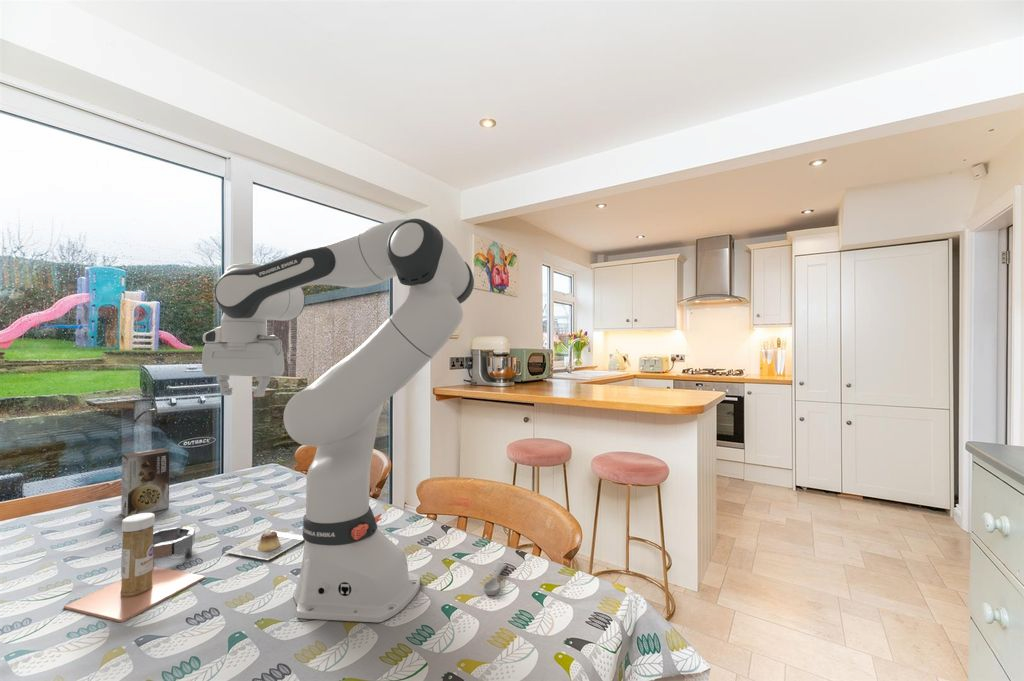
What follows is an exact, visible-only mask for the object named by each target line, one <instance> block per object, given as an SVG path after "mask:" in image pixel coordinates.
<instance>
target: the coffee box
mask: <svg viewBox="0 0 1024 681" xmlns="http://www.w3.org/2000/svg"><path fill="white" fill-rule="evenodd" d="M170 453H171V452H170V450H167V449H166V448H163V447H159V448H154V449H148V450H147V449H146V450H141V451H135V452H134V451H133V452H128V453H122V458H121V459H122V460H121V501H120V502H121V504H120V506H121V507H120V513H121V515H122V516H124V518H126V517H129V516H132V515H135V514H140V513H155V512H157V511H162V510H166V509H170Z"/></svg>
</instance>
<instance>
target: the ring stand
mask: <svg viewBox="0 0 1024 681" xmlns="http://www.w3.org/2000/svg"><path fill="white" fill-rule="evenodd" d="M195 540H196V528H195V527H190V526H182V525H181V526H174V527H169V528H163V529H158V530H155V531H153V566H155V559H160V558H161V559H162V558H166V557H171V556H172V555H173V556H175V555H177V554H179V553H182V552H183V551H184V559H187V558H191V557H192V556H193V545H194V544H195Z"/></svg>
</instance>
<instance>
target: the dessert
mask: <svg viewBox="0 0 1024 681" xmlns="http://www.w3.org/2000/svg"><path fill="white" fill-rule="evenodd" d="M279 537H281V538H286V539H287V538H288V539H291V540H292V539H293V540H299V541H298V542H296V543H294V544H292V545H291V546H288V547H287V548H285V549H284V550H282V551H280V552H278V553H277V554H275V555H273V556H271V557H269V558H265V557H259V556H256V555H255V556H253V555H250V554H249V555H248V554H243V553H239V551H240V550H241V551H242V550H243V549H244V548H247V547H248V546H251V545H253V544H254V543H256V542H258V541H259V543H258V545H257V551H262V552H267V551H272V550H274V549H277V548H278V547H280V546H281V542H280V538H279ZM303 541H304V542H305V540H304V538H303V534H298V533H291V532H285V531H278V530H273V529H272V530H271V529H270V528H267V527H266V530H265V531H264V532H262V533H261V534H259V535H256V536H254V537H252V538H250V539H248V540H246V541H244V542H243V543H240V544H238V545H236V546H234V547H232V548H230V549H228V550H225V551H224V553H226V554H229V555H230V554H231V555H236V556H239V557H246V558H252V559H257V560H263V561H270V560H272V559H274V558H275V557H278V556H280V554H282V553H284V552H286V551H288V550H290V549H291V548H293V547H295V546H297V545H299V544H300V543H302V542H303ZM236 552H238V553H236Z"/></svg>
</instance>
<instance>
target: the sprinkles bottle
mask: <svg viewBox="0 0 1024 681" xmlns="http://www.w3.org/2000/svg"><path fill="white" fill-rule="evenodd" d="M155 522H156V516H155V513H154V512H150V513H140V514H135V515H132V516H129V517H124V518H123V519H122V520H121V532H122V546H121V568H120V571H121V572H120V577H121V580H122V585H121V586H122V587H121V592H120V594H121V595H122V596H126V597H128V596H135V595H138V594H141V593H143V592H145V591H147V590H149V589H150V588H151V587H152V585H153V582H152V568H153V532H154V526H155Z"/></svg>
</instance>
